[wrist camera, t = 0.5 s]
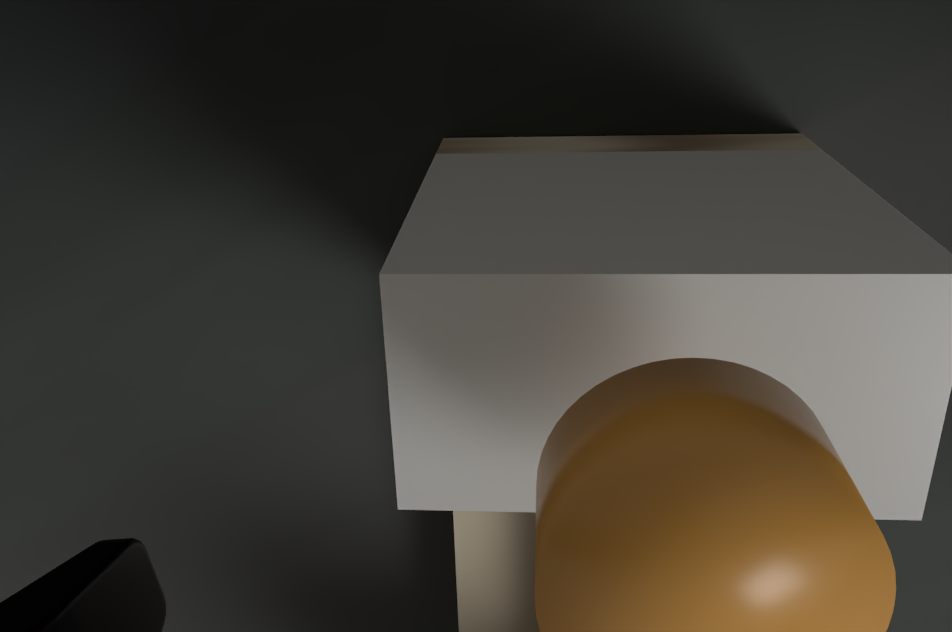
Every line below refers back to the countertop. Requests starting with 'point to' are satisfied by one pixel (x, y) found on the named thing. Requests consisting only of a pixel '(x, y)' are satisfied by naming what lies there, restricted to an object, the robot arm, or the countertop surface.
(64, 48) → the countertop surface
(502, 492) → the cabinet
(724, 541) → the plunger
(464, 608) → the rail track
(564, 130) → the countertop surface
